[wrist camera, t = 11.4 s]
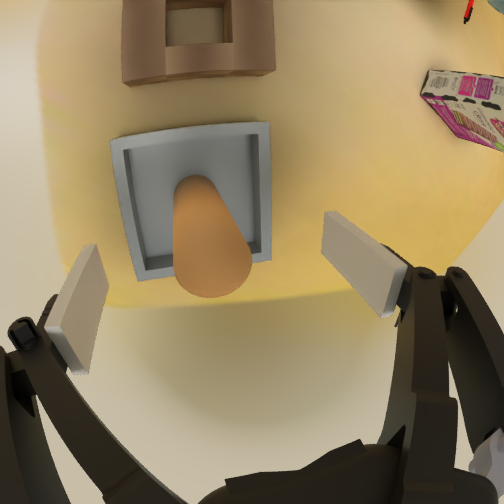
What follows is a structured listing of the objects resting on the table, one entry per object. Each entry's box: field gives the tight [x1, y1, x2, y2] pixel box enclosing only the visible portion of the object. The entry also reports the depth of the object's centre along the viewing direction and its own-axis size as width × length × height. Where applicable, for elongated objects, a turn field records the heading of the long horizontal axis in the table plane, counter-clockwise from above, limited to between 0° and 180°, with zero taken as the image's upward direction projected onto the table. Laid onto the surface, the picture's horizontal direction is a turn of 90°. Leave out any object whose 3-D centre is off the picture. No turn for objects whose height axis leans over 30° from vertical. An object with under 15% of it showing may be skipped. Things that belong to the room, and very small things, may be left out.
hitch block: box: [122, 0, 276, 87], centre depth 17 cm, size 12×10×4 cm
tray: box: [110, 121, 272, 281], centre depth 25 cm, size 13×13×4 cm
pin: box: [173, 175, 252, 298], centre depth 20 cm, size 4×4×13 cm
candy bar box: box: [420, 70, 504, 152], centre depth 21 cm, size 11×5×16 cm, turn 66°
